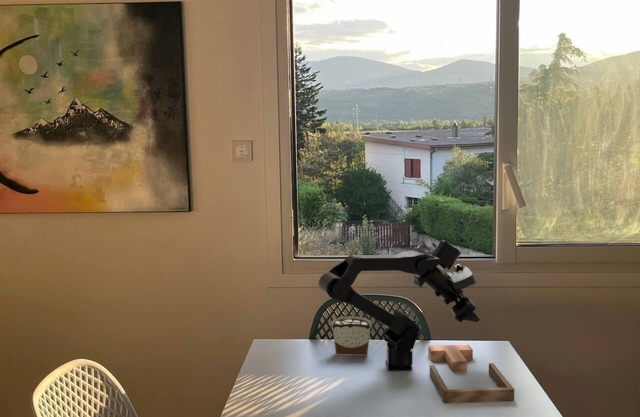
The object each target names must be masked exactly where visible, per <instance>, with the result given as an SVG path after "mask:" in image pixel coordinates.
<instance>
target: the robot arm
mask: <svg viewBox="0 0 640 417" xmlns="http://www.w3.org/2000/svg"><path fill="white" fill-rule="evenodd" d="M461 255H462V252H461V251H460V249H458V248H457V247H455V246H453V245H452V244H450V243H448V242H447V241H446V240H443V239H441V240H440V242H439V243H438V245H437V246H436V248H435V249H434V251H433V252H432V253H431V254H429V253H426V252H425V253H423V252H422V253H420V252H418V251H416V250H412V249H411V250H407V251H400V252H399V253H396V254H390V255H389V254H388V255H387V254H384V255H383V254H382V255H381V254H378V255H376V254H375V255H373V254H371V255H364V254H363V255H359V254H350V255H348V256H346V258H344V260H343V261H341V262H339V263H338V264H336V265H334V266H333V267H332V268H331V269H330V270H329V271H328V272H325V273H323V274H322V276H320V278H319V281H318V289H319V290H320V291H321V292H323V293H324V294H325V295H327V296H328V297H329V298H330V299H332V300H335V301H338V302H341V303H345V304H349V305H351V306H353V307H354V308H356V309H357V310H359V311H361V312H363V313H364V314H366V315H368V316H369V317H371V318H373V319H375V320H376V321H377V322H380V323H381V324H383V326H385V327H386V328H387V329H386V331H384V333H383V334H382V337H383V341H384V342H386V359H385V364H386V366H387V369H388V370H389V371H408V370H409V371H411V370H412V369H413V367H412V366H413V350H414V346H415V345H416V344H415V343H416V340H417V338H418V337H419V334H420V326H419V325H418V324H416V323H417V321H416V320H415V319H413V318H412V317H410V316H408V315H407V314H406V313H403V312H402V311H400V310H398V309H397V308H395V309H394V312H391V311H388V310H387V309H384V308H383V307H382V306H380V305H378V304H377V303H375V302H374V301H372V300H371V299H368V298H367V297H366V296H364V295H361V294H360V293H359V292H357V291H356V290H355V289H354V288H353V287H352V285H354V282H355V280H356V279H357V277H358V276H359V274H360V273H361V272H383V271H385V272H386V271H390V272H391V271H396V272H398V271H399V272H404V273H406V274H412V275H414V276H413V278H414V280H413V284H414V285H415V286H416V287H417V286H418V287H420V288H422V287H423V285H424V284H425V285H426V286H427V287H428V288H429V289H430V290H432V291H433V293H434V294H435V296H436V297H437V298H441V299H442V300H443V302H444V303H445V304H446V305H447V306H448V305H449V304H451V303H454V302H455V304H454V305H452V307H451V308H450V312H451V314H452V316H453V318H454V319H455V320H456V321H457V322H458V323H462V322H463V321H468V322H469V321H470V322H476V323H478V322H480V320H481V319H480V318H479V316H478V314H476V312H475V310H476V306H475V304H474V302H473V301H472V300H471V299H470V298H469V297H465V294H463V293H464V289H466V288H468V287H471V286H474V285H476V283H477V281H476V278H475V276H474V274H473V272H472V270H470V268H469V267H467V266H466V265H465V266H463V265H462V264H460V263H457V264H455V263H456V261H457V260H458V259H459V258H460V256H461ZM454 264H455V265H454ZM453 265H454V268H453V271H452V272H446V273H445V272H443V271H445V270H451V268H452V267H453ZM441 270H443V271H441Z"/></svg>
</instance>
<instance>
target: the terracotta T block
mask: <svg viewBox="0 0 640 417" xmlns="http://www.w3.org/2000/svg"><path fill="white" fill-rule="evenodd" d="M427 350H428V353H427V354H428V355H427V356H428V358H429V359H430V361H432V362H433V361H434V362H436V361H437V362H438V361H439V362H440V361H441V362H442V361H445V363H446V365H447V366H448V368H449V369H450V371H451V372H452V373H456V372H457V373H459V372H460V373H462V372H464V373H465V372H467V369H468V366H467V364H468V360H471V361H472V360H473V357H474V356H473V354H474V353H473V352H474V350H473V348H472V347H471V345H470V344H446V345H445V344H443V345H442V344H441V345H428V348H427Z"/></svg>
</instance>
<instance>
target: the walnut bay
mask: <svg viewBox="0 0 640 417" xmlns="http://www.w3.org/2000/svg"><path fill="white" fill-rule="evenodd" d="M488 375H489V376H490V377H491V379H492V380H493V381H494V383H495V384H496V386H497V387H486V388H485V387H483V388H482V387H481V388H453V389H452V388H451V389H450V388H449V389H448V387H447V385H446V384H445V382H444V380H443V378H442V376H441V374H440V373H439V371H438V370H437V368H436V366H435V364H429V377H430V379H431V381H432V382H433V385H434V387H435V389H436V391H437V393H438V394H439V396H440V398H441V400H442V402H443V404H455V403H456V404H463V403H464V404H465V403H466V404H467V403H469V404H470V403H490V402H491V403H493V402H494V403H495V402H514V401H515V388H514V387H513V386H512V385H511V383H510V382H509V381H508V380H507V379H506V377H505V376H504V375H503V373H502V371H500V370H499V368H498V367H497V366H496V364H494V362H489V363H488Z"/></svg>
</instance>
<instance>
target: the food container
mask: <svg viewBox="0 0 640 417" xmlns="http://www.w3.org/2000/svg"><path fill="white" fill-rule="evenodd" d="M330 329H332V332H333V334H332V335H333V342H334V350H335V355H336V356H366V355H367V356H368V355H369V354H368V353H369V345H370V344H369V343H370V334H371V329H373V324H372V323H371V321H370V319H367V318H364V317H361V316H342V317H338V318H335V319H334V320H333V321H332V322H331V324H330Z"/></svg>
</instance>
